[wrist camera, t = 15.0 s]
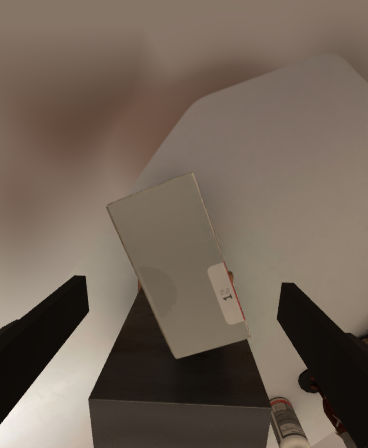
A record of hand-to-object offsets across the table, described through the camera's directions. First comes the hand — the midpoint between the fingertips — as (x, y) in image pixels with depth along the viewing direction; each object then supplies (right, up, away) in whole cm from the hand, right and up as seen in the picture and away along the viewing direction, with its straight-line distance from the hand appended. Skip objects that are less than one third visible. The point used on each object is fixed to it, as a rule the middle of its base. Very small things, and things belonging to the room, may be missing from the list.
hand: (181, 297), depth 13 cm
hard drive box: (+1, +5, +23) cm, 23 cm away
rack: (0, -14, +26) cm, 30 cm away
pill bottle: (+22, -37, +31) cm, 53 cm away
